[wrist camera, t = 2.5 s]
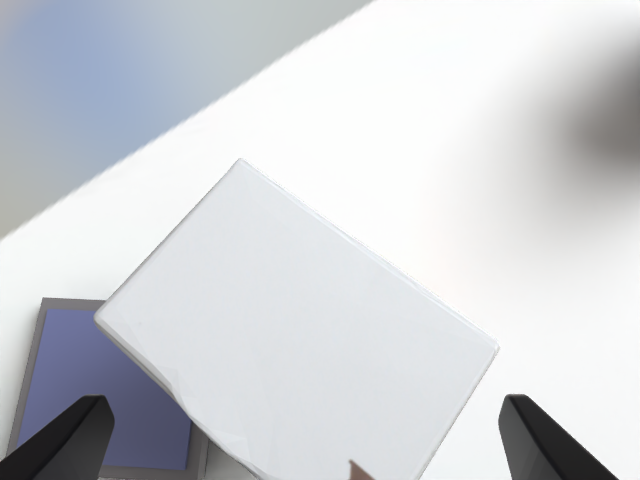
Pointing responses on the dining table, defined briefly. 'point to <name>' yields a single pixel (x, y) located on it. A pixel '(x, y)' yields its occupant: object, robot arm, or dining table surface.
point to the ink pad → (120, 390)
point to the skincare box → (296, 339)
